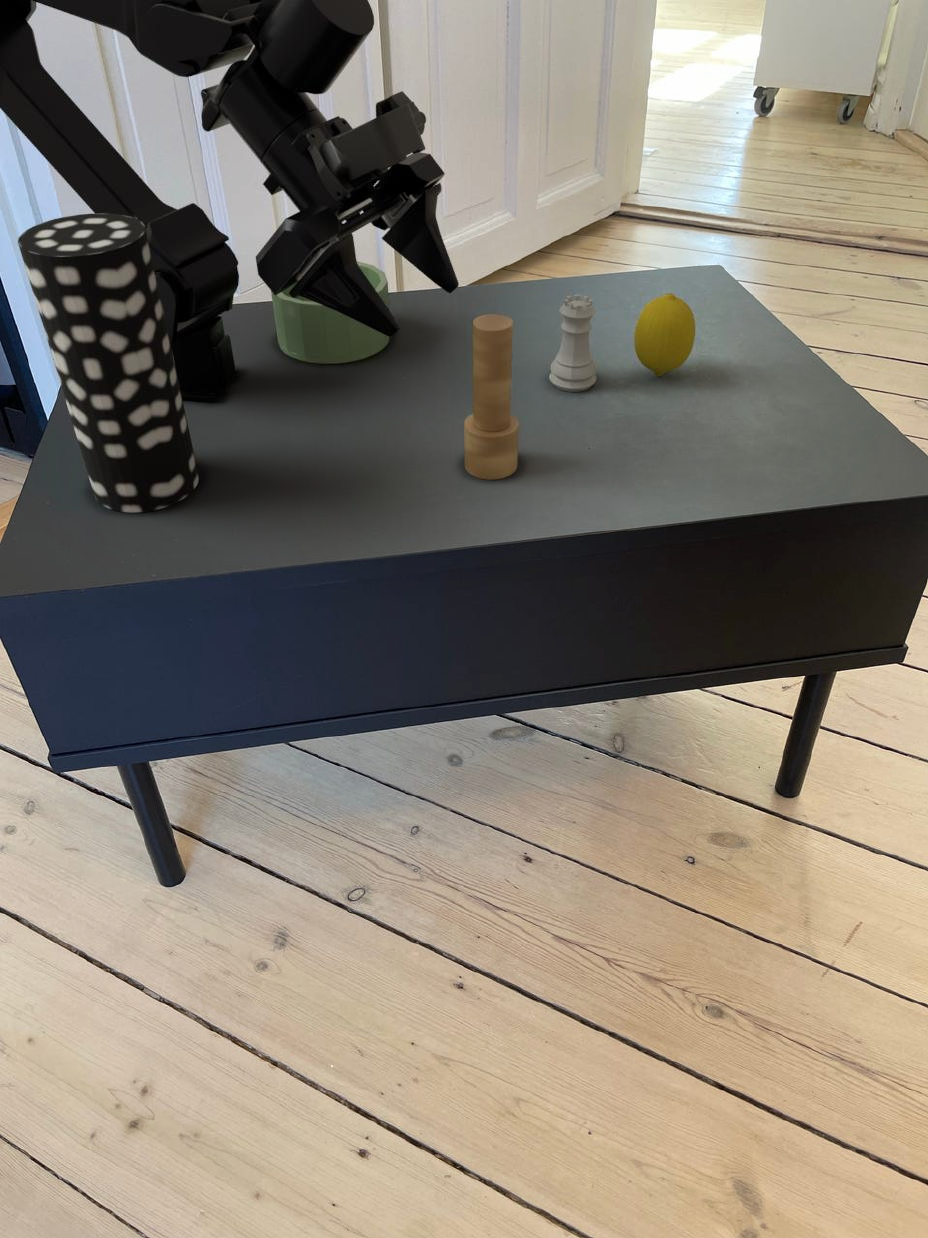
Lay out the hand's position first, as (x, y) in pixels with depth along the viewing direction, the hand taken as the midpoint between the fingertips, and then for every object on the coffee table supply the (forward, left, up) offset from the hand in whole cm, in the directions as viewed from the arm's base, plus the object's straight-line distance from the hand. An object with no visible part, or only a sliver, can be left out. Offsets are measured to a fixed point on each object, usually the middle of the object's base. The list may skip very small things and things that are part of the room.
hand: (426, 310), depth 75 cm
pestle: (+6, -2, -12) cm, 14 cm away
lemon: (+19, +17, -12) cm, 28 cm away
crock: (-14, +19, -12) cm, 27 cm away
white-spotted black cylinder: (-21, -10, -12) cm, 27 cm away
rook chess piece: (+11, +14, -12) cm, 22 cm away
